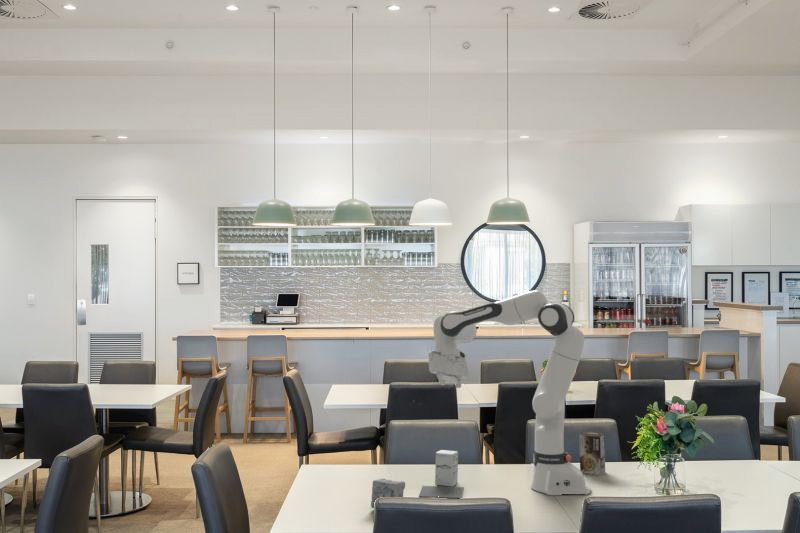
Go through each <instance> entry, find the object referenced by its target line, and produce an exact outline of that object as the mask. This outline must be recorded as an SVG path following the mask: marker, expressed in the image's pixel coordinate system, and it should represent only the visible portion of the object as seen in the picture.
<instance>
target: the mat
mask: <svg viewBox="0 0 800 533" xmlns="http://www.w3.org/2000/svg"><path fill="white" fill-rule="evenodd" d="M463 493H464V486H453V487H451V486H443V485H435V486H434V485H422V487H421V489H420V490H419V494H418V498H427V497H438V496H439V497H442V498H441V499H454V498H462V499H463Z"/></svg>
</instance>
